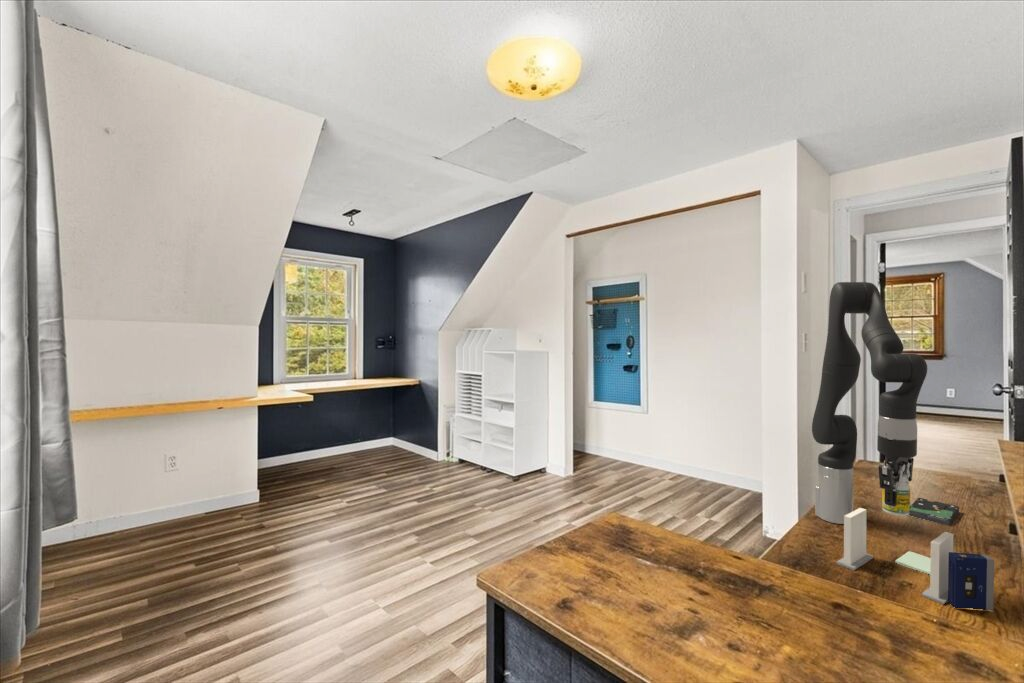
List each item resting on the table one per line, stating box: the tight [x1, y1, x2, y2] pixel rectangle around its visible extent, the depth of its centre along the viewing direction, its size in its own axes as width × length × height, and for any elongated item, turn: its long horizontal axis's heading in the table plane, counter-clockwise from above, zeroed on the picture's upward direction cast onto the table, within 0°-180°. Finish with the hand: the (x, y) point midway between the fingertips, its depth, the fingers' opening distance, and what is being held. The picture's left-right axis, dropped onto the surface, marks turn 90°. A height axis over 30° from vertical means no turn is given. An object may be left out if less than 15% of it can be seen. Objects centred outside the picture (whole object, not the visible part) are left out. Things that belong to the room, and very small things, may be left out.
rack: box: [836, 507, 955, 605], centre depth 116 cm, size 22×11×13 cm, turn 32°
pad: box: [894, 550, 931, 576], centre depth 121 cm, size 9×9×1 cm
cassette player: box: [947, 551, 995, 612], centre depth 103 cm, size 7×2×12 cm, turn 78°
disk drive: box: [909, 497, 960, 527], centre depth 151 cm, size 10×3×15 cm
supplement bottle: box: [881, 474, 911, 517], centre depth 116 cm, size 5×5×10 cm
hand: (895, 502), depth 116 cm, fingers closed on supplement bottle, 5 cm apart
